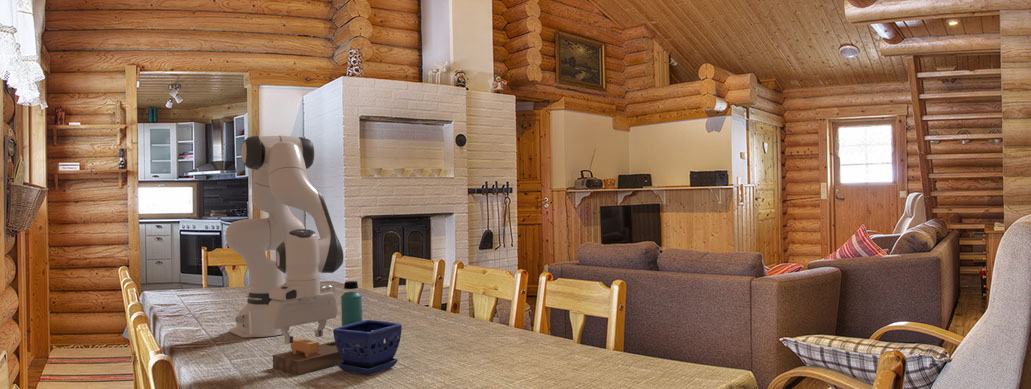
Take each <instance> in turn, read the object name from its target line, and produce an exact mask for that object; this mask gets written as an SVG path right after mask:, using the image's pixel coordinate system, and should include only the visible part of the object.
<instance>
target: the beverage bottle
mask: <svg viewBox="0 0 1031 389" xmlns="http://www.w3.org/2000/svg"><path fill="white" fill-rule="evenodd" d="M358 283H359V282H358V281H355V280H350V281H345V282H344V286H343V287H344V288H343V289H344V290H354V289H356V290H357V289H358V288H359V284H358ZM362 297H363V295H362V294H361V293H360V292H359V291H346V292H344V293H342V295H341V297H340V300H341V303H340V304H341V306H340V307H341V308H340V309H341V324H340V326H345V325H349V324H352V323H356V322H360V321H364V319H363V306H362V305H363V302H362V301H363V299H362Z"/></svg>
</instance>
